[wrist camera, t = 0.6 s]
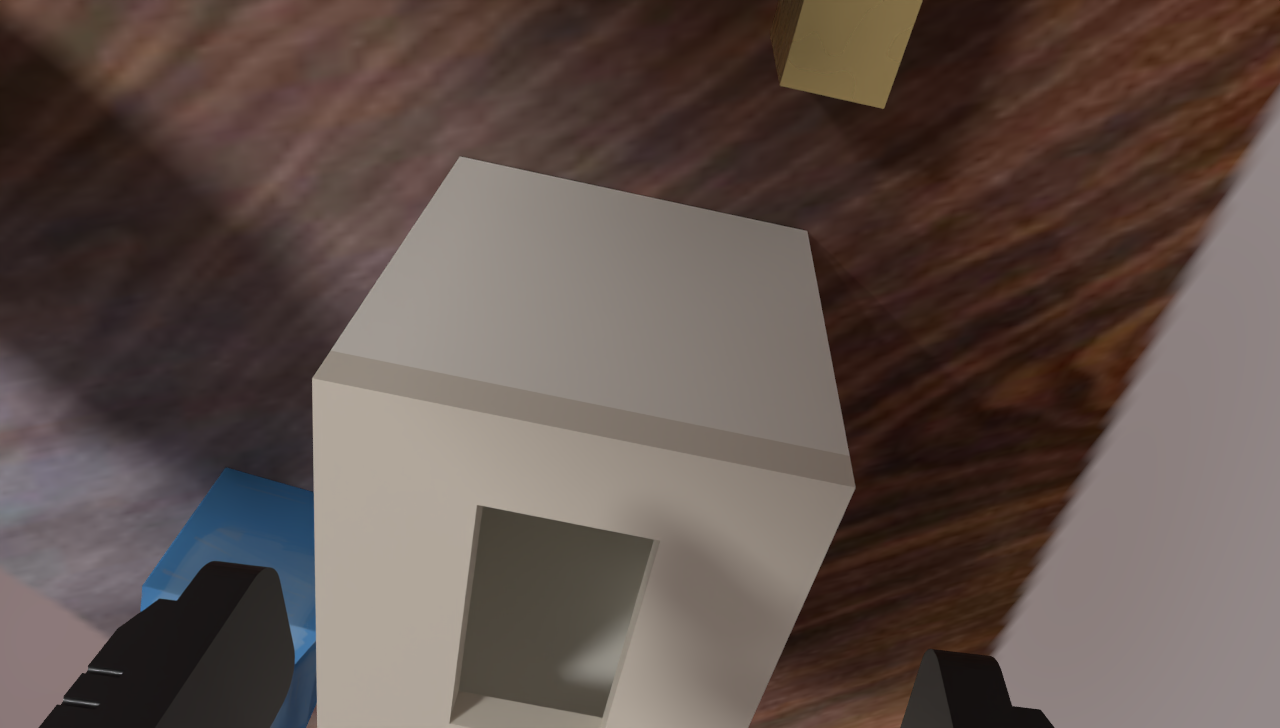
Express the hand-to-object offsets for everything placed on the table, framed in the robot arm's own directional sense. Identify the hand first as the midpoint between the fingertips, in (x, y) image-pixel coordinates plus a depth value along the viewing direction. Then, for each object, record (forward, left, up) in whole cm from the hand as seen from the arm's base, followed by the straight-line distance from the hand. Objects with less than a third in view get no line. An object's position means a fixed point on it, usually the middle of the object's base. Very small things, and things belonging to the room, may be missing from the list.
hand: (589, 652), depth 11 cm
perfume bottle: (+21, -12, -19) cm, 30 cm away
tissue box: (+9, -1, -19) cm, 20 cm away
